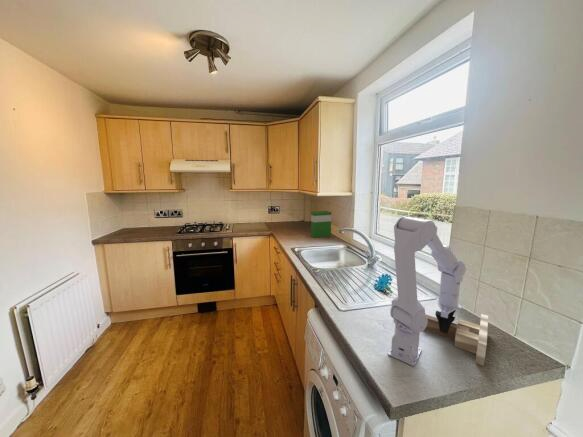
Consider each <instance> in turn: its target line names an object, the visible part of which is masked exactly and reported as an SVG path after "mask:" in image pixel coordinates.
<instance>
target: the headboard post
mask: <svg viewBox="0 0 583 437" xmlns="http://www.w3.org/2000/svg"><path fill="white" fill-rule="evenodd" d="M457 324H458V325H461V326H465V327H468V328H470V332H468V331H465V330H462V329H459V328H457V330H456V335H455V340H454V347H456V348H459V349H462V350H464V351H466V352H469V353H472V354H475V364H477V365H480V366H482V367H484V366H485V359H486V351H487V344H488V330H489V328H488V327H489V315H487V314H483V313H481V314H480V322H479V324H476V323H473V322H470V321H467V320H463V319H459V320H458V323H457Z"/></svg>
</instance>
